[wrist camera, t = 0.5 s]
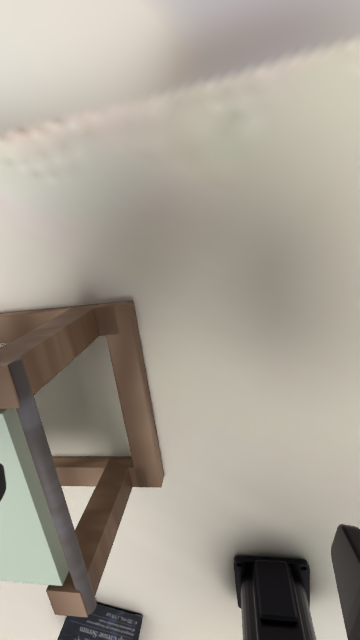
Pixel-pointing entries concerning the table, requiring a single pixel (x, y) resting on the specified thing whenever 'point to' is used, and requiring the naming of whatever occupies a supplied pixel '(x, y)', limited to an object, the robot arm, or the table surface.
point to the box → (102, 625)
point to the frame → (103, 472)
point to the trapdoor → (25, 515)
